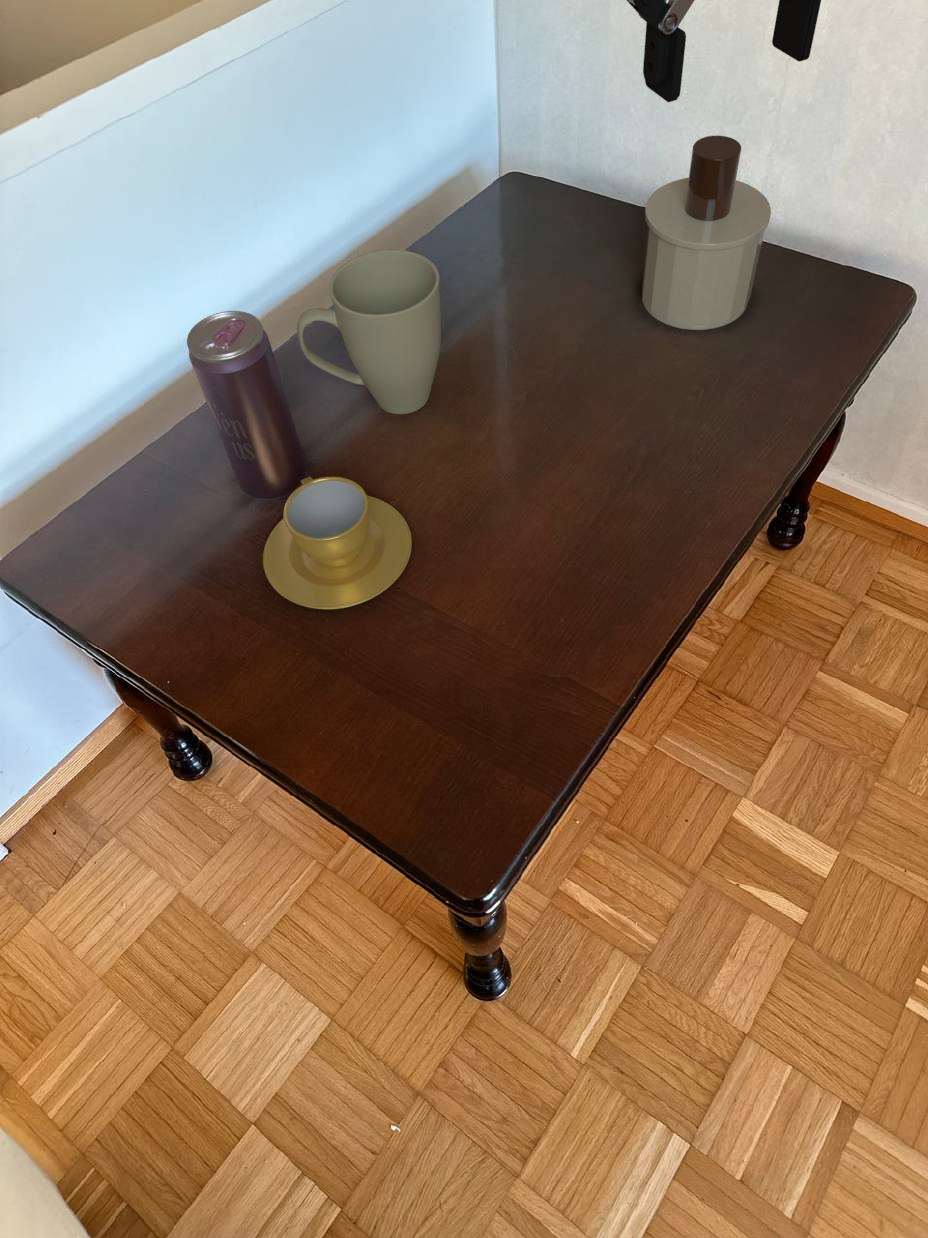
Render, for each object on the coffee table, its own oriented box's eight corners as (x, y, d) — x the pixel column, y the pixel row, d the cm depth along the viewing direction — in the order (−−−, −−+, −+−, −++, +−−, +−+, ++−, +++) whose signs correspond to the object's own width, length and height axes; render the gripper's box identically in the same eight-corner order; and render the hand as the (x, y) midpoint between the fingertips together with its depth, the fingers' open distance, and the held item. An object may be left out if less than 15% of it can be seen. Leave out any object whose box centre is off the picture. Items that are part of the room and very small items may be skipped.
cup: (438, 571, 71) (431, 525, 67) (297, 636, 68) (280, 593, 64) (374, 477, 77) (364, 430, 73) (243, 533, 75) (224, 487, 70)
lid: (761, 186, 85) (776, 112, 79) (774, 255, 78) (792, 180, 73) (642, 189, 86) (649, 116, 80) (645, 257, 80) (653, 183, 74)
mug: (392, 348, 87) (373, 233, 77) (471, 388, 83) (461, 272, 73) (312, 412, 83) (281, 298, 73) (391, 457, 79) (369, 343, 69)
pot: (743, 265, 91) (759, 183, 84) (753, 329, 85) (771, 247, 78) (640, 266, 92) (648, 185, 85) (642, 330, 86) (651, 249, 79)
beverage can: (321, 464, 79) (280, 318, 67) (285, 512, 76) (236, 368, 64) (263, 447, 81) (213, 301, 68) (226, 493, 78) (167, 349, 65)
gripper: (667, -248, 41) (639, 133, 55) (974, -319, 44) (875, 59, 58) (588, -275, 46) (580, 86, 59) (873, -338, 49) (803, 19, 63)
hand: (726, 72), depth 59 cm, fingers open, 9 cm apart
